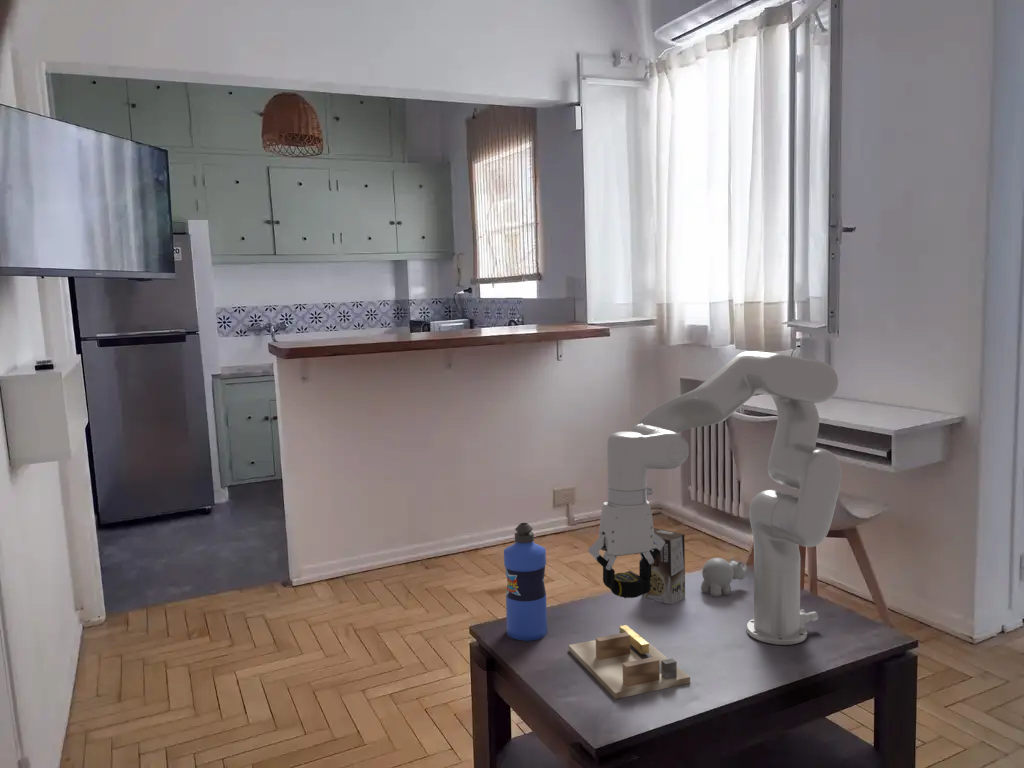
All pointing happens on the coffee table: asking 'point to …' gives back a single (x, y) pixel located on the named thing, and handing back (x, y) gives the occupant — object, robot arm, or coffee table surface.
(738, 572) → the white animal figurine
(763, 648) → the coffee table surface
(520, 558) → the water bottle
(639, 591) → the tape measure
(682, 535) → the coffee box
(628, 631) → the yellow bar
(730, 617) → the coffee table surface
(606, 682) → the dock
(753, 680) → the coffee table surface
